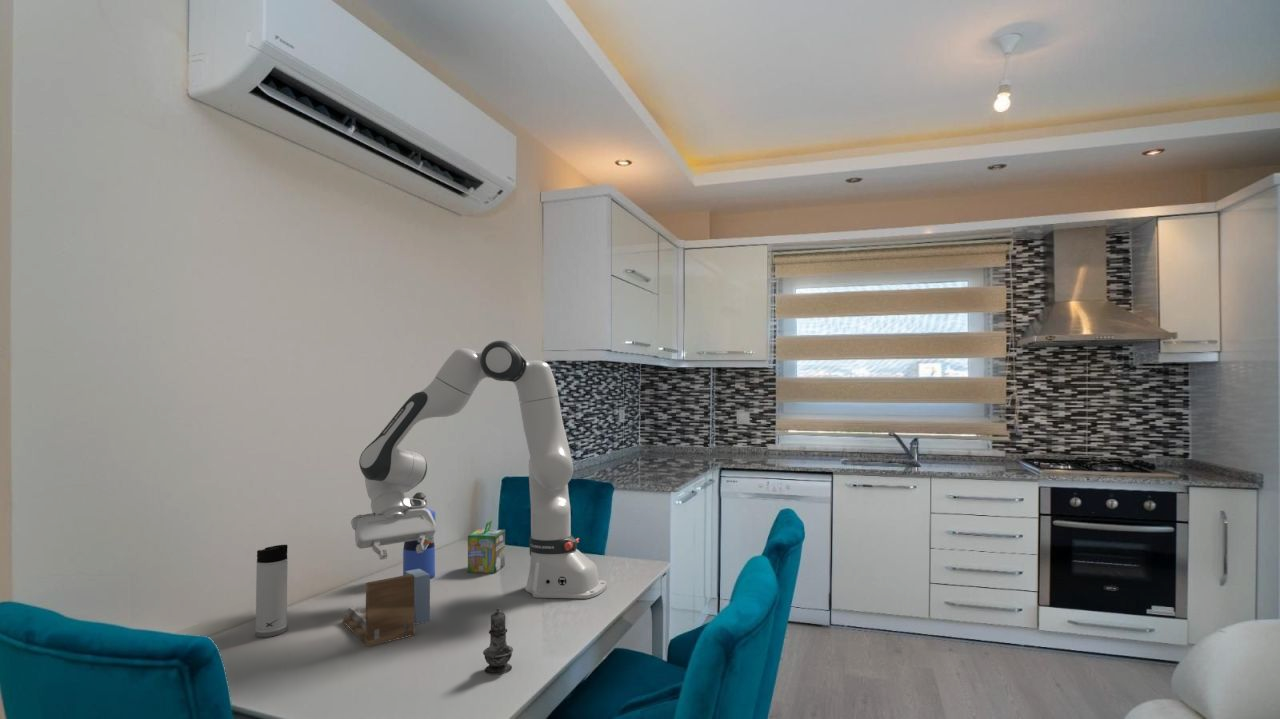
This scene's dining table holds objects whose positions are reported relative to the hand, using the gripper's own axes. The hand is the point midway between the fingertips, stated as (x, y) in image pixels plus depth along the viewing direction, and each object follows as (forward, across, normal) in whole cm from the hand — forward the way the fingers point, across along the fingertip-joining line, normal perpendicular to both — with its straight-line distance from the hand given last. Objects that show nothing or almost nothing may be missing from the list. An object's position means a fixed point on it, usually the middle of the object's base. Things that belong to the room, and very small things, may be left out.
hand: (402, 554), depth 165 cm
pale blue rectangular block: (+17, 0, +2) cm, 17 cm away
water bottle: (-8, +13, +27) cm, 31 cm away
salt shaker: (+45, +2, -26) cm, 52 cm away
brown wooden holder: (+17, -9, +2) cm, 20 cm away
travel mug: (+8, -29, +12) cm, 32 cm away
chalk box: (-4, +32, +23) cm, 40 cm away
